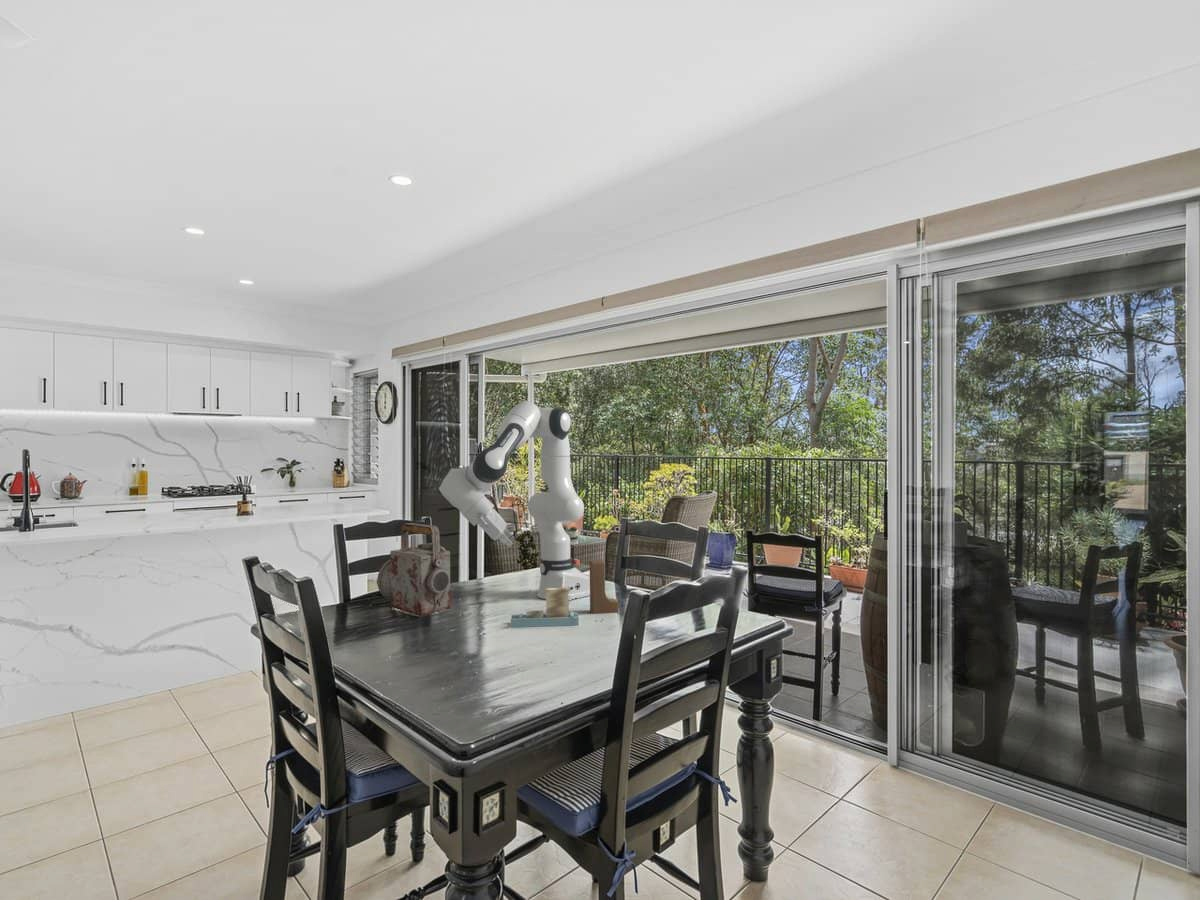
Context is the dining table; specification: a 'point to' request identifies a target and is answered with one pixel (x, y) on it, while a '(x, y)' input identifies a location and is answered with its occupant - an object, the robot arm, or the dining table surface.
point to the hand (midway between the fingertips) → (512, 543)
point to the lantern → (417, 574)
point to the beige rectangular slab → (557, 602)
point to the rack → (544, 622)
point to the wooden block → (600, 590)
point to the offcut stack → (534, 614)
